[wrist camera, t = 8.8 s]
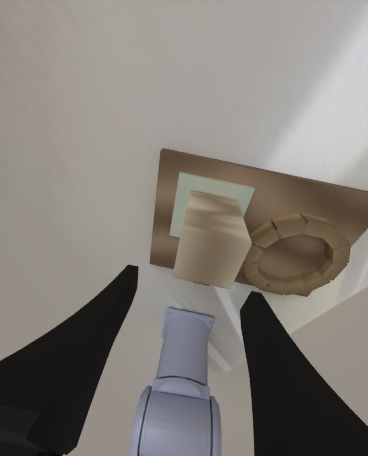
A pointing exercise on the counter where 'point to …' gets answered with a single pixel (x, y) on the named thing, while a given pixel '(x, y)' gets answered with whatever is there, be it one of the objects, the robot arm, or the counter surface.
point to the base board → (260, 210)
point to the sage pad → (208, 186)
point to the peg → (211, 241)
